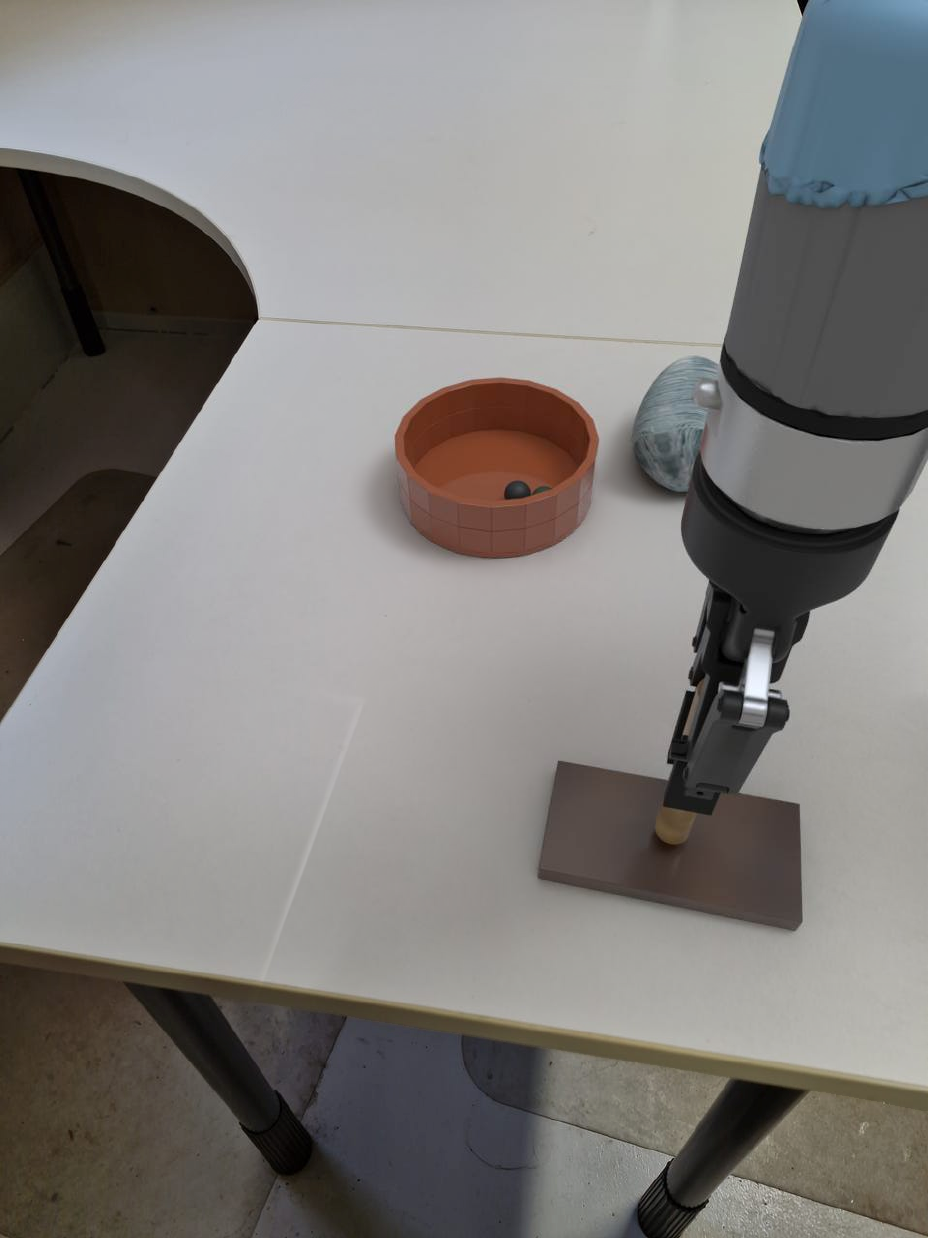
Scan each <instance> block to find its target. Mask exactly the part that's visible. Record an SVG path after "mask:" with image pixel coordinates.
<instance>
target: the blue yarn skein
mask: <svg viewBox="0 0 928 1238" xmlns="http://www.w3.org/2000/svg"><path fill="white" fill-rule="evenodd" d="M718 364H719V363H716V362H715V361H713V360H712V359H710V358H708V357H704V356H700V355H687V356H684V357H681V358H679V359H677V360H675V361H673V362H672V363H671V364H669V365H668V366H666V367H665V368H664V369H663V370H662V371H661V372H660V373H659V374H658V376H656V378H655V379H654V380H653V381H652V383H651V385H650V386H649V387H648V389H647V391H646V392H645V394H644V396H643V398H642V399H641V402H640V405H639V406H638V409H637V412H636V415H635V418H634V422H633V426H632V431H631V447H632V452H633V454H634V456H635V459H636V461H637V462H638V464H639V466H641V468H642V469H643V470H644V472H645V473H646V474H648V476H649V477H650V478H651V479H652V480H653V481H655V483H657V484H658V485H660V486H662V487H664V488H666V489H668V490H670V491H673V492H675V493H676V492H679V493H680V492H681V493H683V492H684V493H685V492H688V488H689V483H690V479H691V475H692V470H693V466H694V462H695V460H696V457H697V455H698V453H699V452H700V445H701V439H702V434H703V429H704V425H705V420H706V416H707V411H708V408H701V407H697V406H696V405H695V404H694V402H693V400H692V395H693V391H694V386H695V384H696V383H697V382H698V381H699V380H702V379H708V380H717V369H718Z"/></svg>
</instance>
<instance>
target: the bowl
mask: <svg viewBox="0 0 928 1238" xmlns="http://www.w3.org/2000/svg"><path fill="white" fill-rule="evenodd" d="M599 446H600V437H599V433H598V430H597V427H596V424H595V420H594V418H592V416H591V415H590V414H589V413H588V412H587V410H586V409H585V408H584V407H583V406H582V405H581V403H580V402H579V401H577V400H575V399H574V398H572V397H570V396H569V395H567V394H566V393H564V392H562V391H560V390H559V389H558V388H555V387H552V386H548V385H545V384H542V383H539V382H536V381H532V380H529V379H521V378H520V379H519V378H510V377H502V376H501V377H488V378H476V379H468V380H466V381H461V382H458V383H454V384H451V385H447V386H444V387H441V388H439V389H437V390H436V391H434V392H432V393H430V394H428V395H426V396H425V397H423V398H420V400H418V401H417V402H416V403H415V404H414V405H413V406H412V407H411V408H410V409H409V410H408V411H407V412H406V413H405V414H404V415H403V416H402V418H401V420H400V422H399V425H398V427H397V429H396V431H395V434H394V451H395V460H396V461H395V462H396V463H395V464H396V470H397V479H398V487H399V488H398V489H399V494H400V496H399V497H400V502H401V505H402V509H403V512H404V513H405V515H406V517H407V519H408V521H409V522H410V523H411V524H412V526H413V527H414V528H415V530H417V531H418V532H419V534H420V535H422V536H423V537H425V538H426V539H428V540H429V541H430V542H432V543H435V545H437V546H438V547H441V548H444V549H446V550H449V551H451V552H454V553H458V554H461V555H466V556H471V557H476V558H484V559H485V558H486V559H505V558H515V557H521V556H527V555H531V554H533V553H537V552H540V551H541V552H542V551H543V550H545V549H549V548H551V547H552V546H555V545H556V544H557V543H560V542H561V541H563V540H565V539H566V538H567V537H569V536H570V535H571V534H573V532H574V531H576V530H577V528H579V527H580V525H581V524H582V523H583V521H584V520H585V519H586V517H587V514H588V513H589V511H590V508H591V505H592V501H593V495H594V489H595V482H596V471H597V465H598V464H597V463H598V455H599ZM513 481H523V482H525V483H526V484H527V485H528V486H529V488H530V490H531V495H532V493H533V492H534V490H535V489H537V488H539V487H541V486H547V487H550V488H552V489H550V490H547V491H544V492H541V493H538V494H535V495H532V496H528V497H525V498H522V499H511V500H505V498H504V490H505V488H506V486H507V485H508V484H509V483H511V482H513Z"/></svg>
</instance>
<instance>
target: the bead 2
mask: <svg viewBox="0 0 928 1238" xmlns="http://www.w3.org/2000/svg"><path fill="white" fill-rule="evenodd" d="M550 489H552V488H550V487H547V486H541V487H539V488H537V489H535V490H534V492H533V493H532V495H535V494H538V493H541V492H544V491H547V490H550ZM532 495H531V496H532Z"/></svg>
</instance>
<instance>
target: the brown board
mask: <svg viewBox="0 0 928 1238" xmlns="http://www.w3.org/2000/svg"><path fill="white" fill-rule="evenodd" d="M555 768H556V769H555V775H554V780H553V786H552V790H551V796H550V801H549V807H548V813H547V819H546V824H545V829H544V836H543V839H542V840H543V841H542V847H541V851H540V852H541V853H540V858H539V864H538V870H537V871H538V872H537V878H538V879H540V880H545V881H550V882H554V883H560V884H565V885H570V886H575V887H581V888H584V889H588V890H589V889H590V890H595V891H599V892H605V893H609V894H614V895H620V896H623V897H629V898H633V899H637V900H638V899H639V900H644V901H648V902H652V903H653V902H654V903H658V904H663V905H667V906H673V907H679V908H683V909H687V910H692V911H698V912H703V913H708V914H713V915H717V916H722V917H727V918H731V919H736V920H742V921H747V922H752V923H756V924H761V925H766V926H772V927H776V928H781V929H786V930H791V931H797V930H798V928H799V927H800V926H801V924H802V923H803V921H804V920H803V883H802V881H803V879H802V877H803V876H802V842H801V839H802V838H801V836H802V835H801V804H800V803H798V802H791V801H786V800H781V799H774V798H770V797H763V796H758V795H753V794H747V793H741V792H739V793H738V795H737V796H735V795H729V794H724V793H721V794H720V796H719V798H718V801H717V803H716V806H715V808H714V810H713V813H712V815H711V816H710V815H705V814H699V813H698V814H697V816H696V819H695V822H694V824H693V827H692V829H691V832H690V834H689V837H688V838H687V840H686V841H684V842H683V843H681V844H676V845H675V844H668V843H666V842H664V841H663V840H661V839H660V838H659V837H658V835H657V833H656V831H655V821H656V818H657V815H658V812H659V809H660V805H661V802H662V799H663V796H664V793H665V789H666V786H667V783H668V780H669V779H663V778H658V777H653V776H647V775H641V774H637V773H630V772H625V771H619V770H613V769H608V768H603V767H596V766H592V765H586V764H581V763H575V762H569V761H565V760H557V763H556V767H555Z"/></svg>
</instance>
